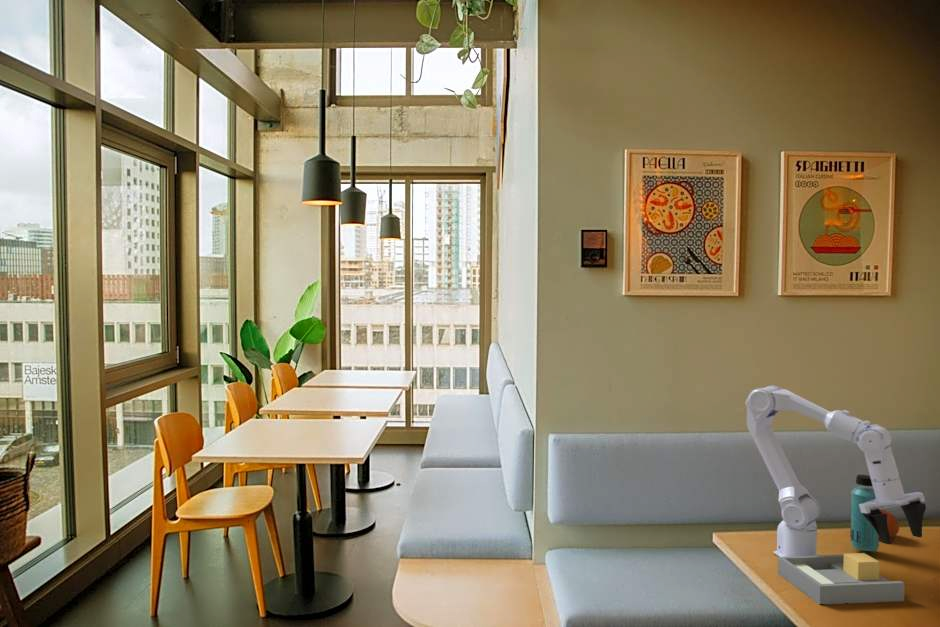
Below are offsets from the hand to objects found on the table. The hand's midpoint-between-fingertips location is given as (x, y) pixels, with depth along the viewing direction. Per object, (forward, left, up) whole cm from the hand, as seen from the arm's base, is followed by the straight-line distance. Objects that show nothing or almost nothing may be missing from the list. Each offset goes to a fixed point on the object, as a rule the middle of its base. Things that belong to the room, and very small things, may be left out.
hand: (902, 539), depth 148 cm
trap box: (-2, -14, -11) cm, 18 cm away
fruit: (-31, +18, -11) cm, 38 cm away
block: (-2, -8, -9) cm, 12 cm away
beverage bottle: (-21, +6, -11) cm, 24 cm away
